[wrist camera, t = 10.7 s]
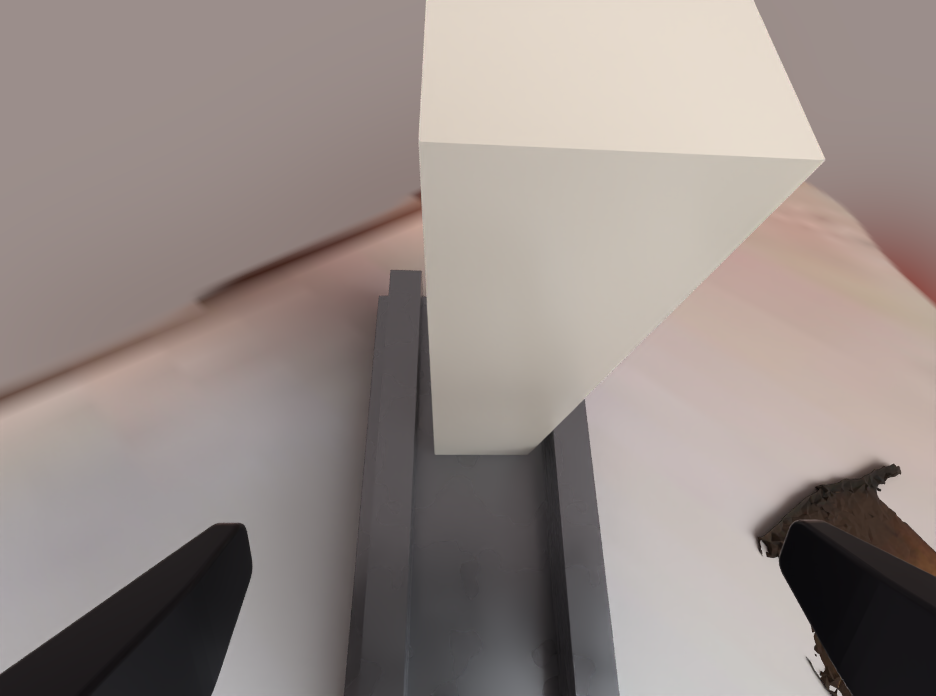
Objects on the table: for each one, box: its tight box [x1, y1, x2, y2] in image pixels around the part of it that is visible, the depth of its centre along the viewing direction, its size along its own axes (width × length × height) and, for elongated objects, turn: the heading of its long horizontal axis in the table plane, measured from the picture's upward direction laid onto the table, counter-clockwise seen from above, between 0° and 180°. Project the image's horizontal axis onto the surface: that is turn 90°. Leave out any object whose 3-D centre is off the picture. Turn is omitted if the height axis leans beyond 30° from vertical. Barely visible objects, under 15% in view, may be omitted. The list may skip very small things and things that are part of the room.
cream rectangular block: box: [419, 0, 825, 455], centre depth 11 cm, size 4×4×14 cm
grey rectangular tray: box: [344, 270, 620, 696], centre depth 15 cm, size 16×8×3 cm, turn 0°
